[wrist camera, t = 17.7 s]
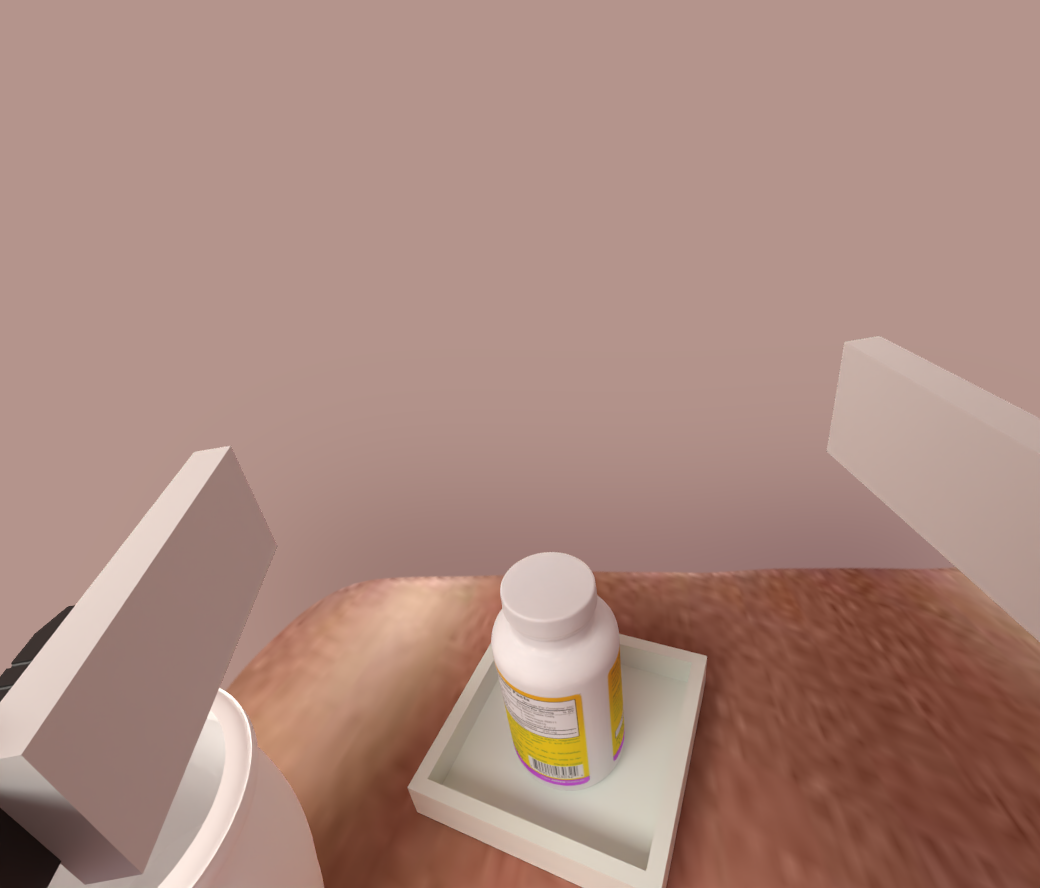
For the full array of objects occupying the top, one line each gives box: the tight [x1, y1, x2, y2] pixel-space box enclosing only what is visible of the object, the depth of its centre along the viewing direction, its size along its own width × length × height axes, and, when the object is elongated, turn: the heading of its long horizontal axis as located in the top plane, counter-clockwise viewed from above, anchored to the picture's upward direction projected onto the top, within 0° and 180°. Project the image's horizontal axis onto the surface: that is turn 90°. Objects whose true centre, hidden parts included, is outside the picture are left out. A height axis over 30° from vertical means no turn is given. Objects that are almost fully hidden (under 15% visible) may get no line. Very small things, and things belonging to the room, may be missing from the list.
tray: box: [407, 634, 707, 888], centre depth 34 cm, size 14×14×2 cm
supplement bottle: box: [491, 552, 625, 791], centre depth 31 cm, size 7×7×13 cm
